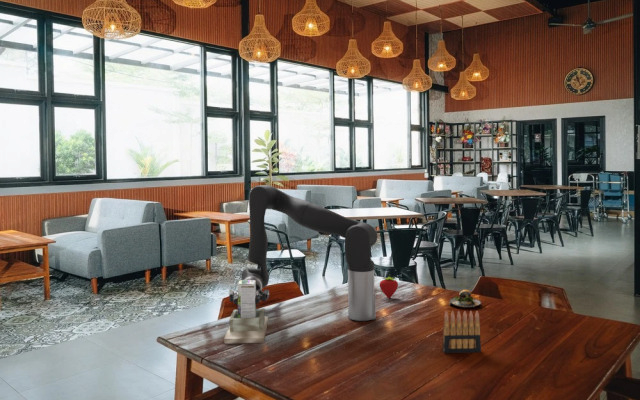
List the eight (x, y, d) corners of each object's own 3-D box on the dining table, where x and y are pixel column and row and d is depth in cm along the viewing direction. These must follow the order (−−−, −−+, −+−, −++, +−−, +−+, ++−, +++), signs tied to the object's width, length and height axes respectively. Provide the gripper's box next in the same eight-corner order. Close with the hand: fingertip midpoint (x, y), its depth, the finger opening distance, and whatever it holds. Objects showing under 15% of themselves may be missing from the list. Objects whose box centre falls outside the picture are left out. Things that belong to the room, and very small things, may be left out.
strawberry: (377, 296, 213) (377, 272, 213) (396, 295, 214) (395, 271, 213) (381, 300, 207) (381, 275, 207) (399, 299, 208) (399, 274, 208)
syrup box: (239, 322, 176) (238, 279, 174) (256, 321, 176) (255, 279, 175) (238, 327, 170) (236, 284, 169) (256, 327, 170) (255, 283, 169)
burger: (444, 307, 197) (444, 288, 197) (454, 300, 207) (454, 281, 206) (476, 312, 191) (476, 291, 190) (485, 304, 201) (485, 285, 200)
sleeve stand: (267, 320, 183) (267, 305, 183) (263, 342, 161) (263, 325, 161) (233, 321, 183) (233, 306, 182) (224, 343, 161) (223, 326, 160)
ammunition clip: (479, 350, 152) (479, 309, 151) (481, 352, 150) (481, 311, 150) (442, 350, 152) (442, 310, 151) (443, 352, 151) (443, 312, 150)
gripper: (230, 278, 186) (223, 290, 169) (271, 277, 186) (268, 289, 170) (231, 299, 187) (224, 313, 170) (271, 298, 187) (268, 312, 170)
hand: (246, 301), depth 170 cm, fingers closed on syrup box, 6 cm apart
